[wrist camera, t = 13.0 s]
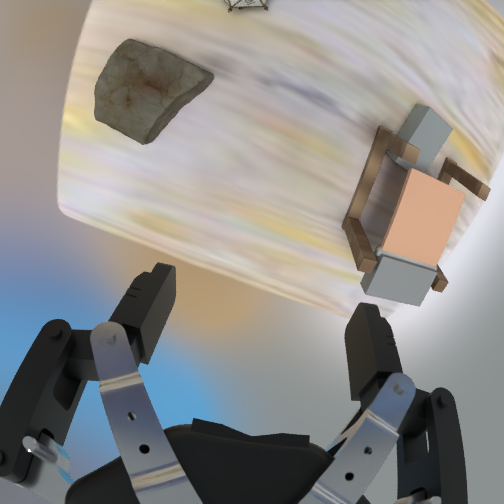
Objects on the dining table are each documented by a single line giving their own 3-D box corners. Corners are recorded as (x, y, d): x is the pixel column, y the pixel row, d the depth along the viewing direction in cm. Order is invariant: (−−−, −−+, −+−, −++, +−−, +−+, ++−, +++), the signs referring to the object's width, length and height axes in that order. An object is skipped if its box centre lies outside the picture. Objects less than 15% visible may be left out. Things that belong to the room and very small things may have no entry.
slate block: (384, 153, 39) (415, 103, 34) (407, 170, 40) (437, 123, 34) (395, 161, 35) (430, 107, 29) (419, 180, 36) (453, 128, 30)
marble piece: (217, 75, 36) (209, 74, 32) (169, 153, 43) (159, 160, 40) (132, 34, 32) (119, 31, 28) (95, 109, 39) (81, 113, 36)
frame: (379, 125, 37) (413, 144, 26) (454, 162, 37) (497, 191, 26) (341, 226, 47) (356, 273, 36) (413, 248, 47) (440, 294, 36)
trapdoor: (404, 164, 32) (414, 168, 29) (460, 191, 32) (471, 197, 30) (358, 282, 40) (363, 294, 37) (413, 296, 40) (420, 306, 37)
